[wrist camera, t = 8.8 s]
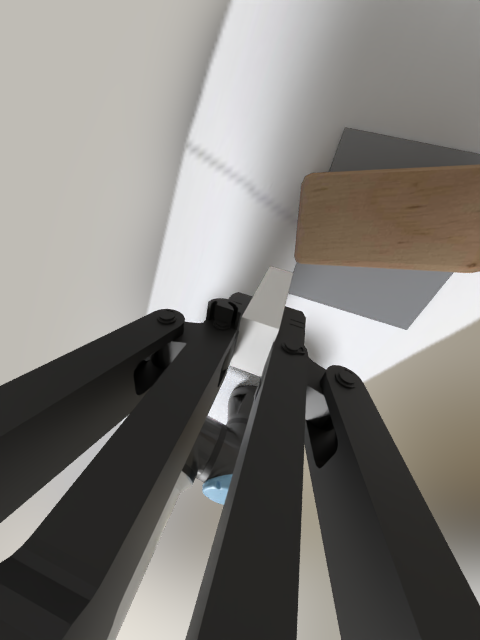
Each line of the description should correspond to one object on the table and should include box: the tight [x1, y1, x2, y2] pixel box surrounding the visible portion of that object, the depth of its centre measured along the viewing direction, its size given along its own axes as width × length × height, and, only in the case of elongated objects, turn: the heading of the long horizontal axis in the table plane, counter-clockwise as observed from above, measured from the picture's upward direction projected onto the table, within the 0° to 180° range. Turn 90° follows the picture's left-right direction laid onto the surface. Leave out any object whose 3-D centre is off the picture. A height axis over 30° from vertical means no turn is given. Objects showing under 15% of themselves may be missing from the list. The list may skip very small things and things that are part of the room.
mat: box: [288, 127, 480, 330], centre depth 33 cm, size 24×22×1 cm
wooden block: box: [294, 164, 480, 273], centre depth 27 cm, size 10×10×20 cm
